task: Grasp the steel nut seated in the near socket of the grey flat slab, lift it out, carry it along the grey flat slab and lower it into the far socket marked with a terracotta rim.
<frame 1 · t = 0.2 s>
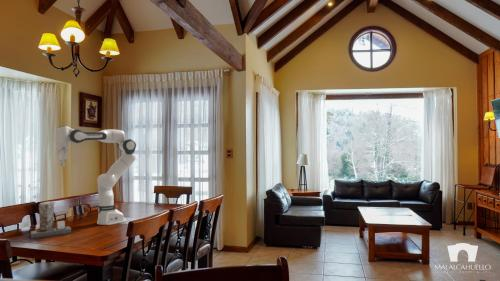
hand: (62, 165, 264), 47 cm above the table, fingers open, 8 cm apart
grey flat slab: (51, 234, 247), on the table
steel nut: (60, 232, 251), resting in grey flat slab
stone block: (46, 229, 263), on the table
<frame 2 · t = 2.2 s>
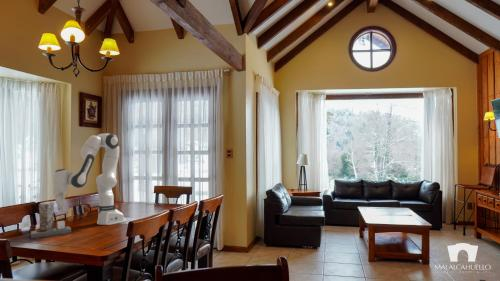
hand: (60, 211, 250), 15 cm above the table, fingers open, 8 cm apart
nothing on the table moved.
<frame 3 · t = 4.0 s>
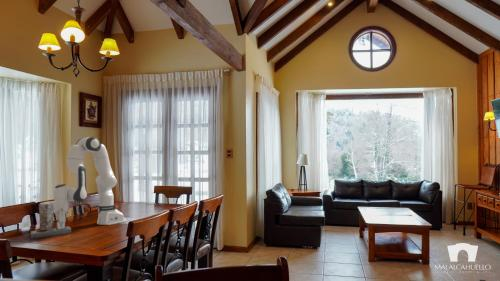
hand: (60, 226, 251), 4 cm above the table, fingers closed on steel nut, 4 cm apart
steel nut: (60, 232, 251), resting in grey flat slab, touching gripper
everything else where it was.
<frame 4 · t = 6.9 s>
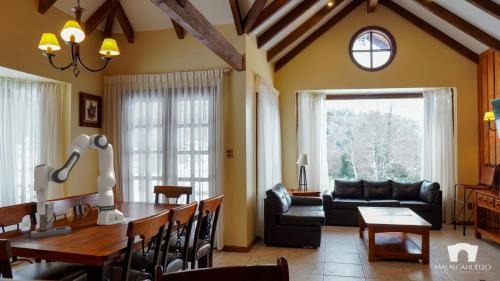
hand: (41, 207, 244), 19 cm above the table, fingers closed on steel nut, 4 cm apart
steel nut: (41, 214, 244), point 15 cm above the table, touching gripper
everything else where it was.
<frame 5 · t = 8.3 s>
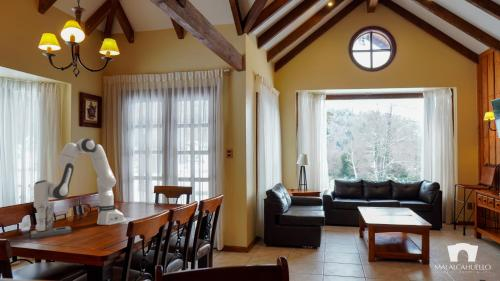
hand: (41, 224, 244), 8 cm above the table, fingers closed on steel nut, 4 cm apart
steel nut: (41, 230, 244), point 4 cm above the table, touching gripper
everything else where it was.
when the fingers open (6 cm above the table, at t = 9.5 s): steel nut drops 1 cm, resting in grey flat slab.
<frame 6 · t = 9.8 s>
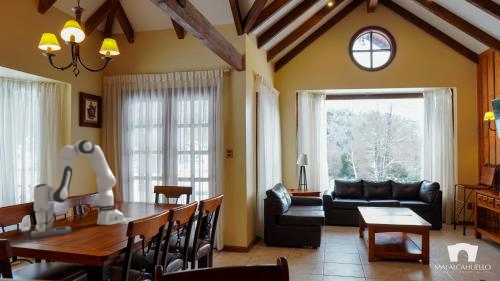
hand: (41, 227, 244), 6 cm above the table, fingers open, 7 cm apart
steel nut: (41, 235, 244), resting in grey flat slab
everything else where it was.
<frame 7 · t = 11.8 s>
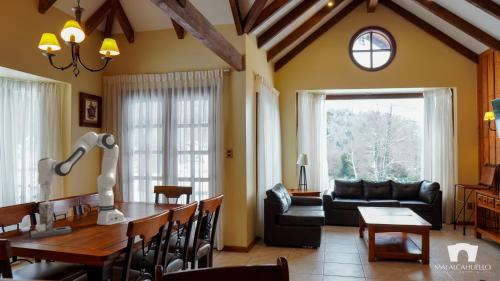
hand: (46, 200, 249), 24 cm above the table, fingers open, 8 cm apart
nothing on the table moved.
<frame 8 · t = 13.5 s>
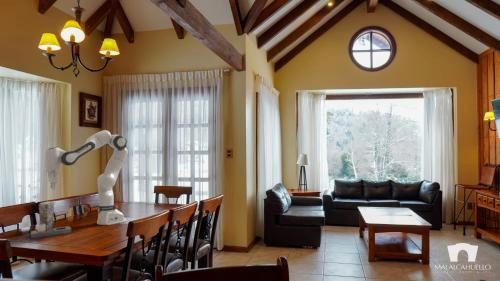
hand: (52, 188, 255), 31 cm above the table, fingers open, 8 cm apart
nothing on the table moved.
at the end: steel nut 0.0 cm from the target spot on the grey flat slab, point 0.0 cm above the grey flat slab's base; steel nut tilted 0°; the gripper is holding nothing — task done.
